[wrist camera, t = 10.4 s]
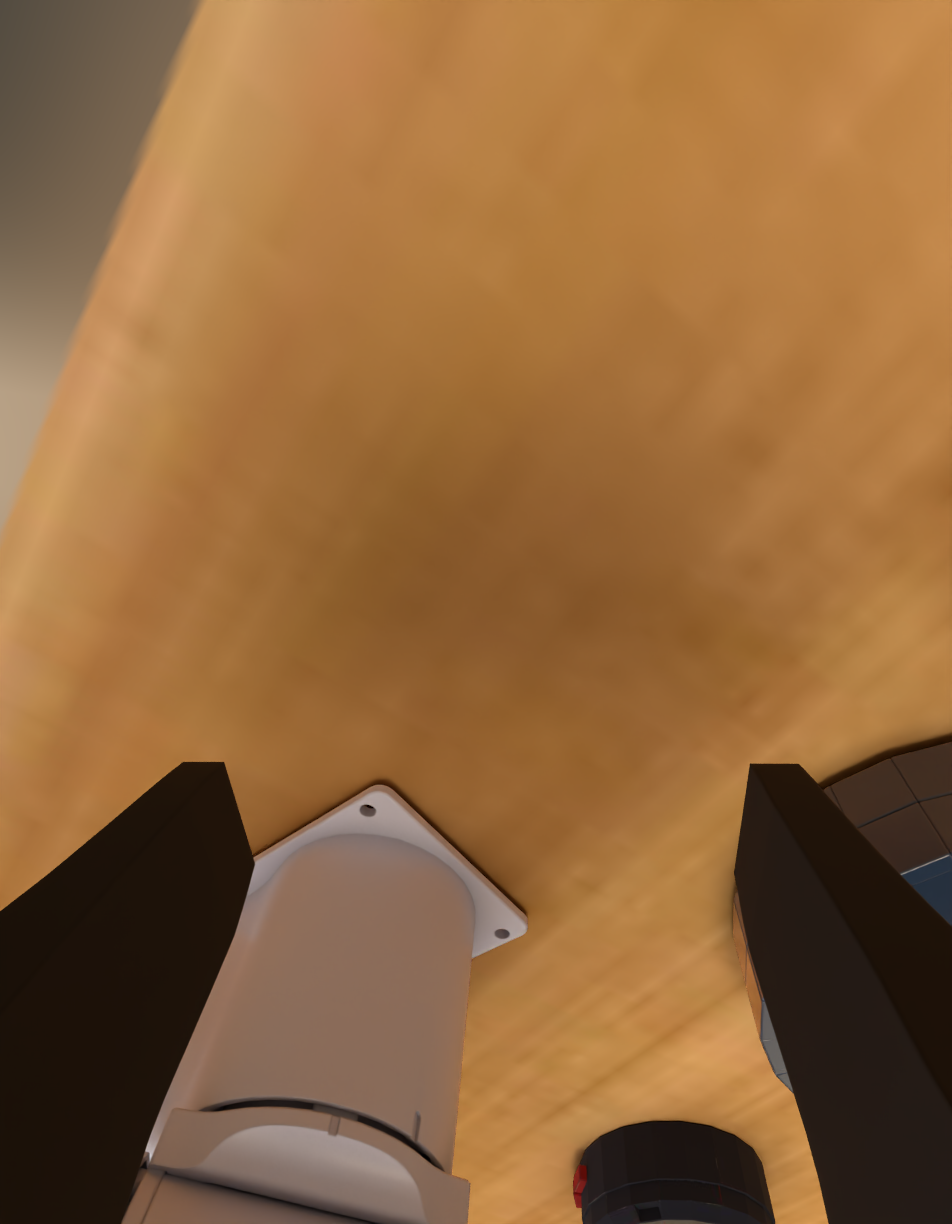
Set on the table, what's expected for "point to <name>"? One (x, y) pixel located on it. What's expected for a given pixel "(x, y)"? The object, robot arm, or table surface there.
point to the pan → (882, 847)
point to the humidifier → (671, 1177)
